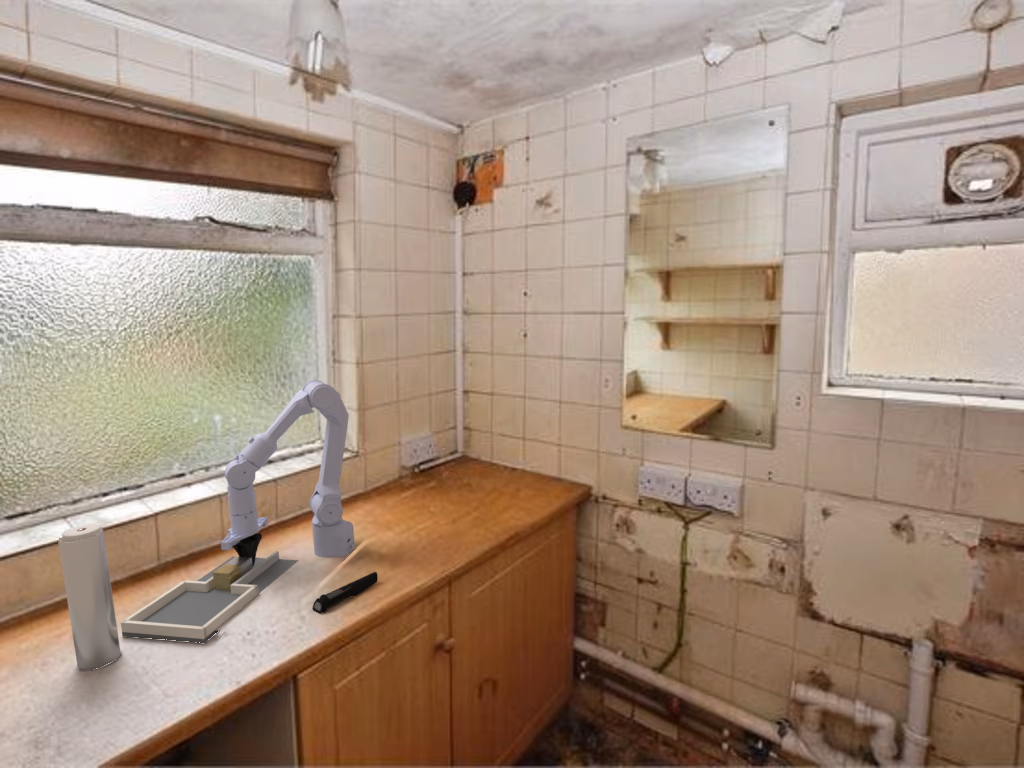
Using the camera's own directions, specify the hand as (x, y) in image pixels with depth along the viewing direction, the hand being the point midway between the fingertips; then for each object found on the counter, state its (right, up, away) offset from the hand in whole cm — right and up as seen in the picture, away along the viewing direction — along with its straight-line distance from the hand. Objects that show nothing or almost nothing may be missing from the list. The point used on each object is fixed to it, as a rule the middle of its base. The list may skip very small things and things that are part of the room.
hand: (248, 566), depth 135 cm
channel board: (-2, -4, -10) cm, 10 cm away
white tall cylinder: (-13, -7, -31) cm, 34 cm away
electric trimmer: (+26, -4, -11) cm, 29 cm away
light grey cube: (-1, -2, -3) cm, 4 cm away
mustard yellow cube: (-1, -2, -7) cm, 7 cm away
